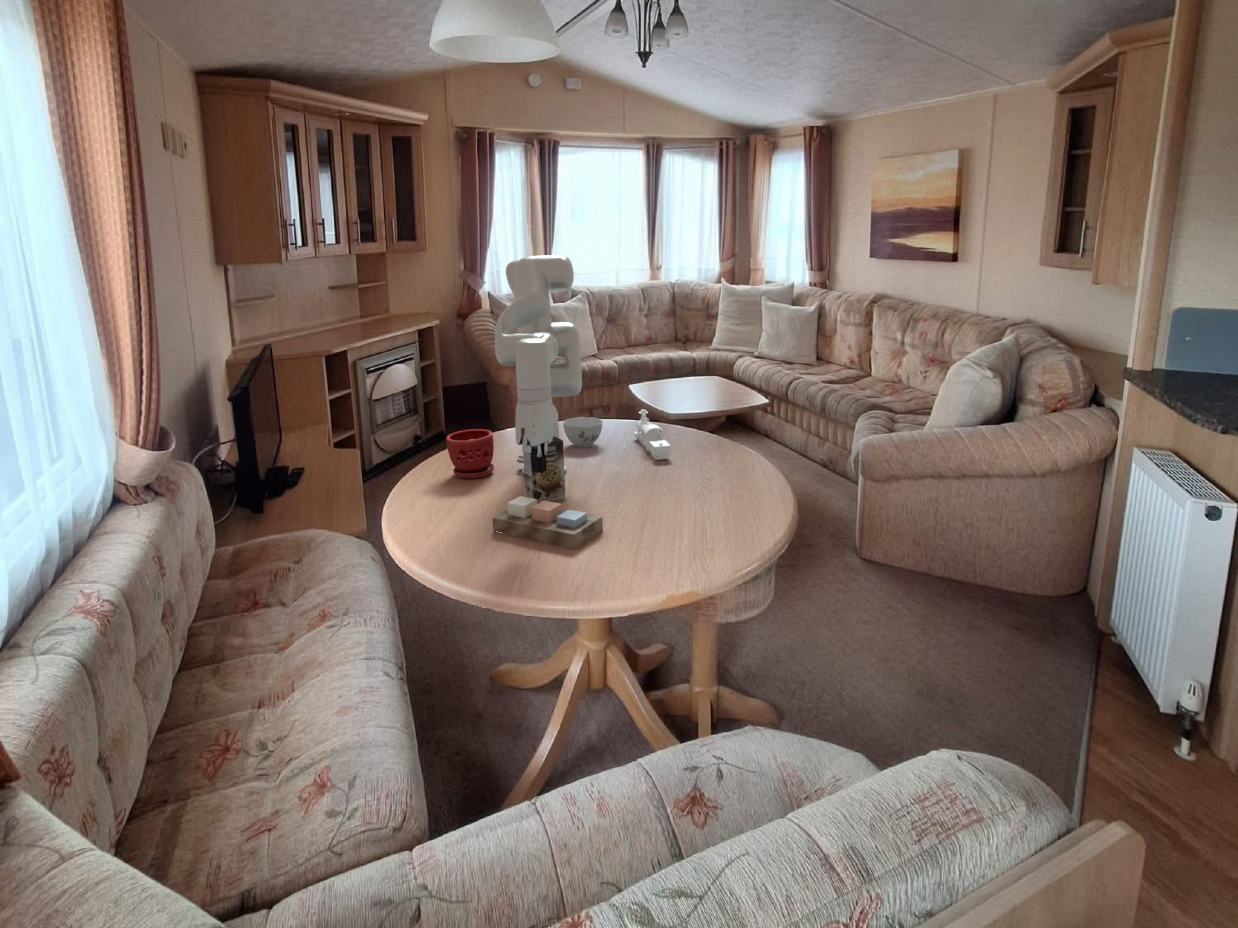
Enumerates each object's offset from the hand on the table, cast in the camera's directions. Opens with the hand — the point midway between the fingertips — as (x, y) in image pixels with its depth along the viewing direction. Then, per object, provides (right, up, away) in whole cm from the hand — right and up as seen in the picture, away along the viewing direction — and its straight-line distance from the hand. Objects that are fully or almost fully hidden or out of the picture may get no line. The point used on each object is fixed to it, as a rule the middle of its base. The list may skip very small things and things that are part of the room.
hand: (539, 471), depth 188 cm
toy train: (+28, +6, +67) cm, 73 cm away
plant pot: (-24, -1, +46) cm, 52 cm away
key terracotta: (+2, -11, +3) cm, 12 cm away
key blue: (+8, -13, 0) cm, 15 cm away
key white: (-4, -10, +6) cm, 13 cm away
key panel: (+2, -14, +4) cm, 15 cm away
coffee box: (-1, -8, +25) cm, 26 cm away
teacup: (+7, +8, +72) cm, 73 cm away
